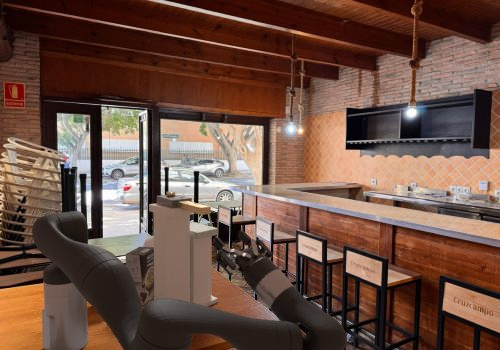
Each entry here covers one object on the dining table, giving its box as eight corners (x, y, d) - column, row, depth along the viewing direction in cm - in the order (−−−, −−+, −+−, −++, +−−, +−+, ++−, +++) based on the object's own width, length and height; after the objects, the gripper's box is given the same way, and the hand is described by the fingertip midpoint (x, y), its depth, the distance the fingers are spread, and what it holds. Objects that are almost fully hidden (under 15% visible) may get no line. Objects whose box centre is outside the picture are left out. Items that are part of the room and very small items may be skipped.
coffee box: (144, 306, 106) (143, 255, 104) (125, 304, 107) (124, 253, 106) (157, 293, 115) (157, 246, 113) (140, 292, 116) (139, 245, 115)
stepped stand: (172, 320, 97) (171, 209, 94) (150, 306, 105) (149, 204, 103) (217, 302, 109) (218, 203, 107) (194, 290, 117) (194, 198, 115)
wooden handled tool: (195, 215, 87) (195, 201, 87) (156, 203, 104) (156, 192, 104) (215, 212, 91) (216, 199, 91) (175, 201, 108) (175, 190, 108)
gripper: (240, 304, 73) (200, 252, 82) (282, 285, 83) (242, 241, 93) (253, 279, 70) (210, 229, 79) (295, 263, 80) (252, 220, 89)
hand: (227, 235), depth 86 cm, fingers open, 8 cm apart
